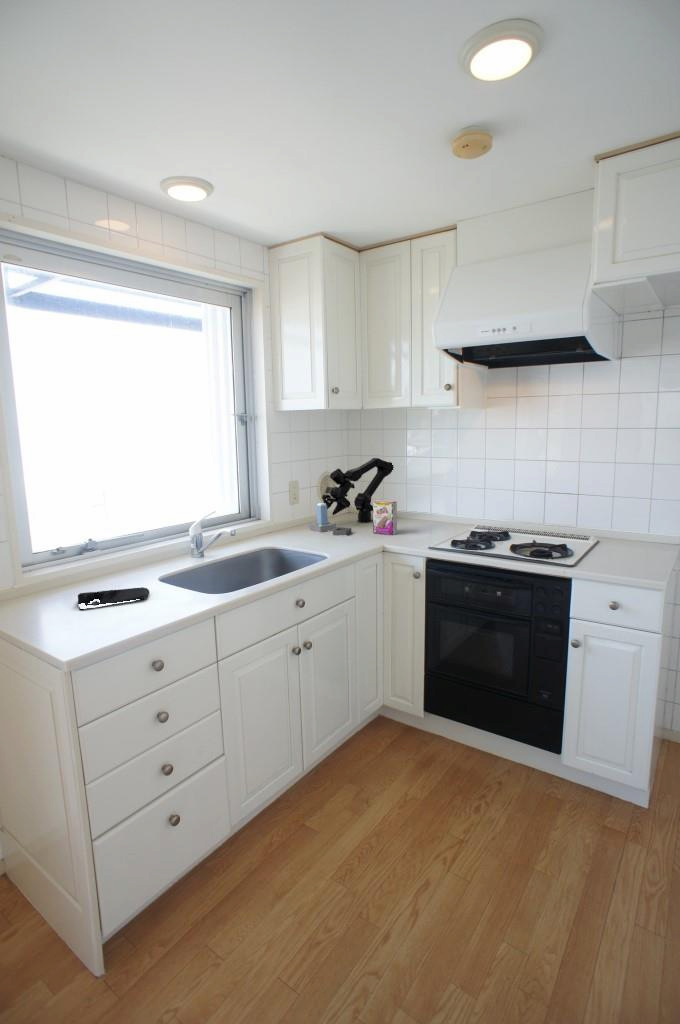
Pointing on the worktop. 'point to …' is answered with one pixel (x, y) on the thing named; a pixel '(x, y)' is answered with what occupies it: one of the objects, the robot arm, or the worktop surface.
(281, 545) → the worktop surface
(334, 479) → the robot arm
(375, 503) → the candy bar box
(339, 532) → the holster
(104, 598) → the dark slate chunk
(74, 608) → the worktop surface
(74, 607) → the worktop surface
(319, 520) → the light blue tall block
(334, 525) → the port
